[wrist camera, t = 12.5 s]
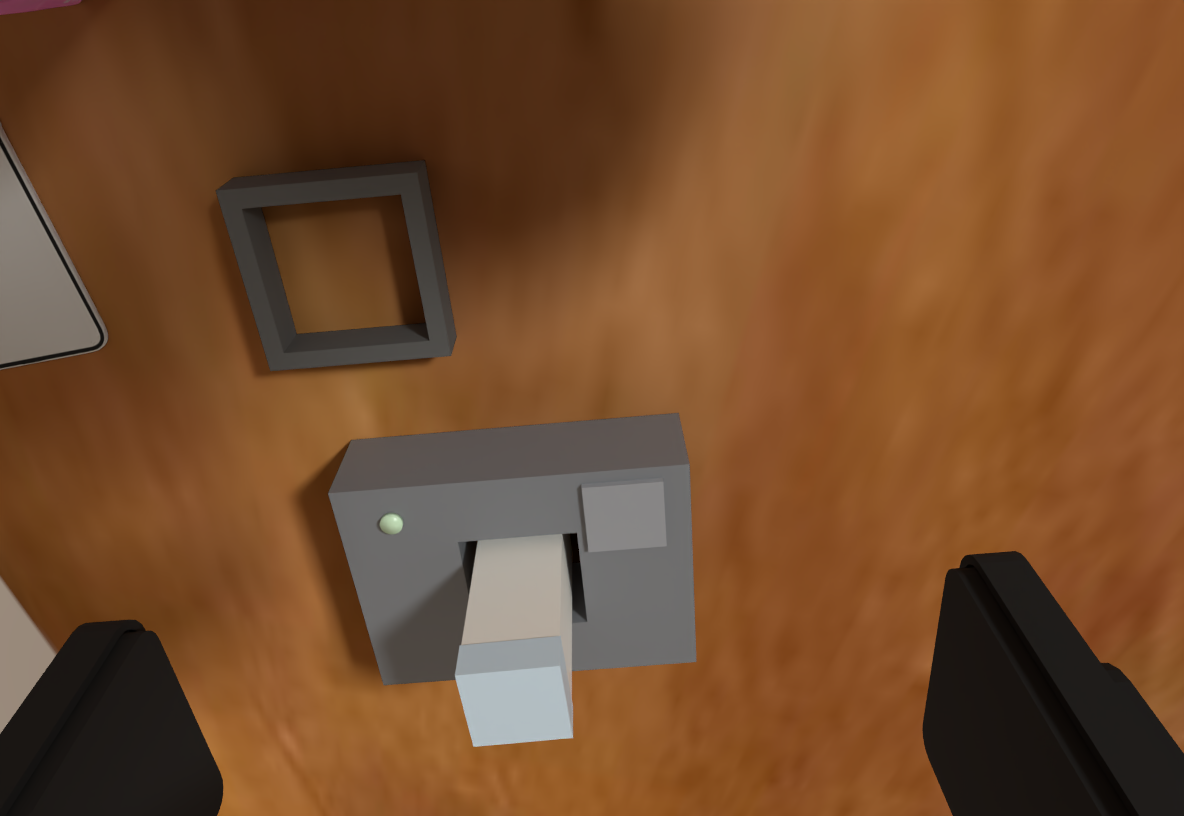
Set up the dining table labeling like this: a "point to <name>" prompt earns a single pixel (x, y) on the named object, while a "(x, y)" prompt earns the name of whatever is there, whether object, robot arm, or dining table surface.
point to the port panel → (522, 535)
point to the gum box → (32, 5)
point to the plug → (518, 641)
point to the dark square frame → (266, 286)
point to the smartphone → (38, 279)
